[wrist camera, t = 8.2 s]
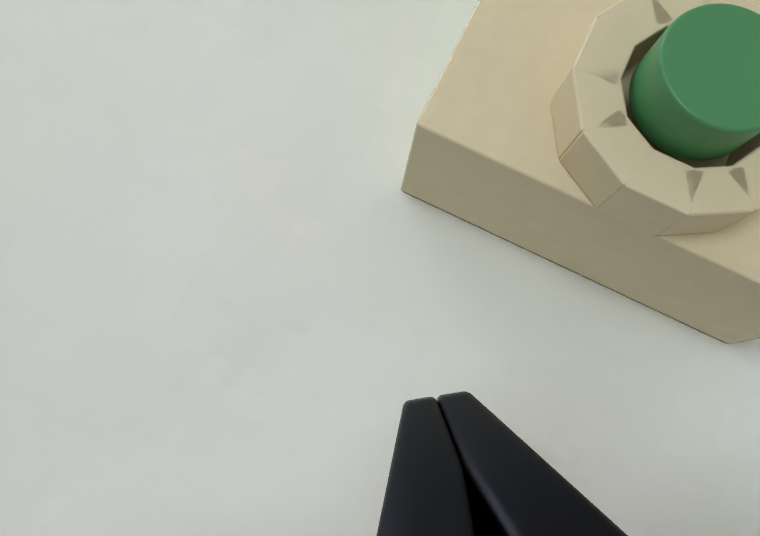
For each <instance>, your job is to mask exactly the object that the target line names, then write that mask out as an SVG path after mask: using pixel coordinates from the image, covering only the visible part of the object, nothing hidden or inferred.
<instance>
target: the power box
mask: <svg viewBox="0 0 760 536" xmlns="http://www.w3.org/2000/svg"><path fill="white" fill-rule="evenodd" d="M714 3H725V4H733V5H737V6H741V7H744V8H747V9H749V10H752V11H754V12H756V13H758V14H760V0H479V1H478V3H477V5H476V7H475V9H474V11H473V13H472V15H471V17H470V19H469V21H468V23H467V25H466V27H465V29H464V31H463V33H462V35H461V37H460V39H459V41H458V43H457V45H456V47H455V49H454V51H453V53H452V55H451V57H450V59H449V61H448V63H447V65H446V67H445V68H444V70H443V72H442V74H441V76H440V78H439V80H438V82H437V84H436V86H435V88H434V90H433V92H432V94H431V96H430V98H429V100H428V102H427V104H426V106H425V108H424V110H423V112H422V114H421V116H420V118H419V120H418V122H417V125H416V129H415V133H414V137H413V141H412V145H411V150H410V154H409V158H408V162H407V166H406V170H405V174H404V178H403V182H402V186H401V190H402V191H404V192H406V193H408V194H410V195H413V196H415V197H417V198H419V199H421V200H423V201H425V202H427V203H430V204H432V205H434V206H436V207H438V208H440V209H442V210H444V211H447V212H449V213H451V214H453V215H455V216H457V217H459V218H462V219H464V220H466V221H468V222H470V223H472V224H474V225H476V226H479V227H481V228H483V229H485V230H487V231H489V232H491V233H493V234H496V235H498V236H500V237H502V238H504V239H506V240H508V241H510V242H513V243H515V244H517V245H519V246H521V247H523V248H525V249H527V250H530V251H532V252H534V253H536V254H538V255H540V256H542V257H545V258H547V259H549V260H551V261H553V262H555V263H557V264H559V265H562V266H564V267H566V268H568V269H570V270H572V271H574V272H576V273H579V274H581V275H583V276H585V277H587V278H589V279H591V280H593V281H596V282H598V283H600V284H602V285H604V286H606V287H608V288H610V289H613V290H615V291H617V292H619V293H621V294H623V295H625V296H628V297H630V298H632V299H634V300H636V301H638V302H640V303H642V304H645V305H647V306H649V307H651V308H653V309H655V310H657V311H659V312H662V313H664V314H666V315H668V316H670V317H672V318H674V319H676V320H679V321H681V322H683V323H685V324H687V325H689V326H691V327H693V328H696V329H698V330H700V331H702V332H704V333H706V334H708V335H711V336H713V337H715V338H717V339H719V340H721V341H723V342H725V343H728V344H731V343H736V342H741V341H746V340H751V339H756V338H760V133H759V134H758V135H756V136H755V137H753V138H752V139H751V140H749V141H748V142H746V143H745V144H743V145H742V146H740V147H739V148H738V149H736V150H735V151H733V152H731V153H730V154H728V155H725V156H723V157H721V158H717V159H713V160H705V161H703V160H688V159H683V158H679V157H676V156H674V155H671V154H669V153H667V152H665V151H663V150H662V149H660V148H659V147H657V146H656V145H655V144H654V143H652V142H651V141H650V140H649V139H648V138H647V137H646V136H645V135H644V133H643V132H642V131H641V129H640V128H639V126H638V125H637V123H636V121H635V119H634V116H633V114H632V111H631V107H630V101H629V86H630V81H631V77H632V75H633V72H634V70H635V68H636V66H637V65H638V64H639V62H640V61H641V59H642V58H643V57H644V56H645V55H646V53H647V52H648V51H649V50H650V49H651V47H652V46H653V45H654V44H655V42H656V41H657V40H658V39H659V38H660V36H661V35H662V34H663V33H664V31H665V30H666V29H667V28H668V27H669V25H670V24H671V23H672V22H673V21H674V20H675V19H676V18H677V17H679V16H680V15H681V14H683V13H685V12H687V11H688V10H690V9H693V8H696V7H698V6H702V5H706V4H714Z"/></svg>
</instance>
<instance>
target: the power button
mask: <svg viewBox="0 0 760 536" xmlns="http://www.w3.org/2000/svg"><path fill="white" fill-rule="evenodd" d="M629 101H630V107H631V111H632V114H633V116H634V119H635V121H636V123H637V125H638V126H639V128H640V129H641V131H642V132H643V133H644V135H645V136H646V137H647V138H648V139H649V140H650V141H651V142H652V143H654V144H655V145H656V146H657V147H659V148H660V149H662V150H663V151H665V152H667V153H669V154H671V155H674V156H676V157H679V158H683V159H688V160H703V161H705V160H713V159H717V158H721V157H723V156H725V155H728V154H730V153H731V152H733V151H735V150H736V149H738V148H739V147H740V146H742V145H743V144H745V143H746V142H748V141H749V140H751V139H752V138H753V137H755V136H756V135H758V134H759V133H760V14H758V13H756V12H754V11H752V10H749V9H747V8H744V7H741V6H737V5H733V4H725V3H714V4H706V5H702V6H698V7H696V8H693V9H690V10H688V11H687V12H685V13H683V14H681V15H680V16H679V17H677V18H676V19H675V20H674V21H673V22H672V23H671V24H670V25H669V27H668V28H667V29H666V30H665V31H664V33H663V34H662V35H661V36H660V38H659V39H658V40H657V41H656V42H655V44H654V45H653V46H652V47H651V49H650V50H649V51H648V52H647V53H646V55H645V56H644V57H643V58H642V59H641V61H640V62H639V64H638V65H637V66H636V68H635V70H634V72H633V75H632V77H631V81H630V86H629Z"/></svg>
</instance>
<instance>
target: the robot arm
mask: <svg viewBox="0 0 760 536" xmlns="http://www.w3.org/2000/svg"><path fill="white" fill-rule="evenodd" d="M377 536H628V535H626V534H625V533H624V532H623V531H622V530H621V529H620V528H619V527H618V526H617V525H615V524H614V523H613V522H612V521H611V520H610V519H609V518H608V517H607V516H605V515H604V514H603V513H602V512H601V511H600V510H599V509H598V508H597V507H596V506H594V505H593V504H592V503H591V502H590V501H589V500H588V499H587V498H586V497H584V496H583V495H582V494H581V493H580V492H579V491H578V490H577V489H576V488H575V487H573V486H572V485H571V484H570V483H569V482H568V481H567V480H566V479H565V478H563V477H562V476H561V475H560V474H559V473H558V472H557V471H556V470H555V469H553V468H552V467H551V466H550V465H549V464H548V463H547V462H546V461H545V460H544V459H542V458H541V457H540V456H539V455H538V454H537V453H536V452H535V451H534V450H532V449H531V448H530V447H529V446H528V445H527V444H526V443H525V442H524V441H523V440H521V439H520V438H519V437H518V436H517V435H516V434H515V433H514V432H513V431H511V430H510V429H509V428H508V427H507V426H506V425H505V424H504V423H503V422H502V421H500V420H499V419H498V418H497V417H496V416H495V415H494V414H493V413H492V412H490V411H489V410H488V409H487V408H486V407H485V406H484V405H483V404H482V403H481V402H479V401H478V400H477V399H476V398H475V397H474V396H473V395H472V394H470V393H468V392H457V393H451V394H445V395H441V396H439V397H438V398H437V400H436V399H435V398H433V397H426V398H420V399H414V400H408V401H406V402H405V403H404V405H403V409H402V414H401V419H400V424H399V429H398V433H397V438H396V443H395V448H394V453H393V458H392V463H391V468H390V473H389V478H388V483H387V487H386V492H385V497H384V502H383V507H382V512H381V517H380V522H379V527H378V532H377Z"/></svg>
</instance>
